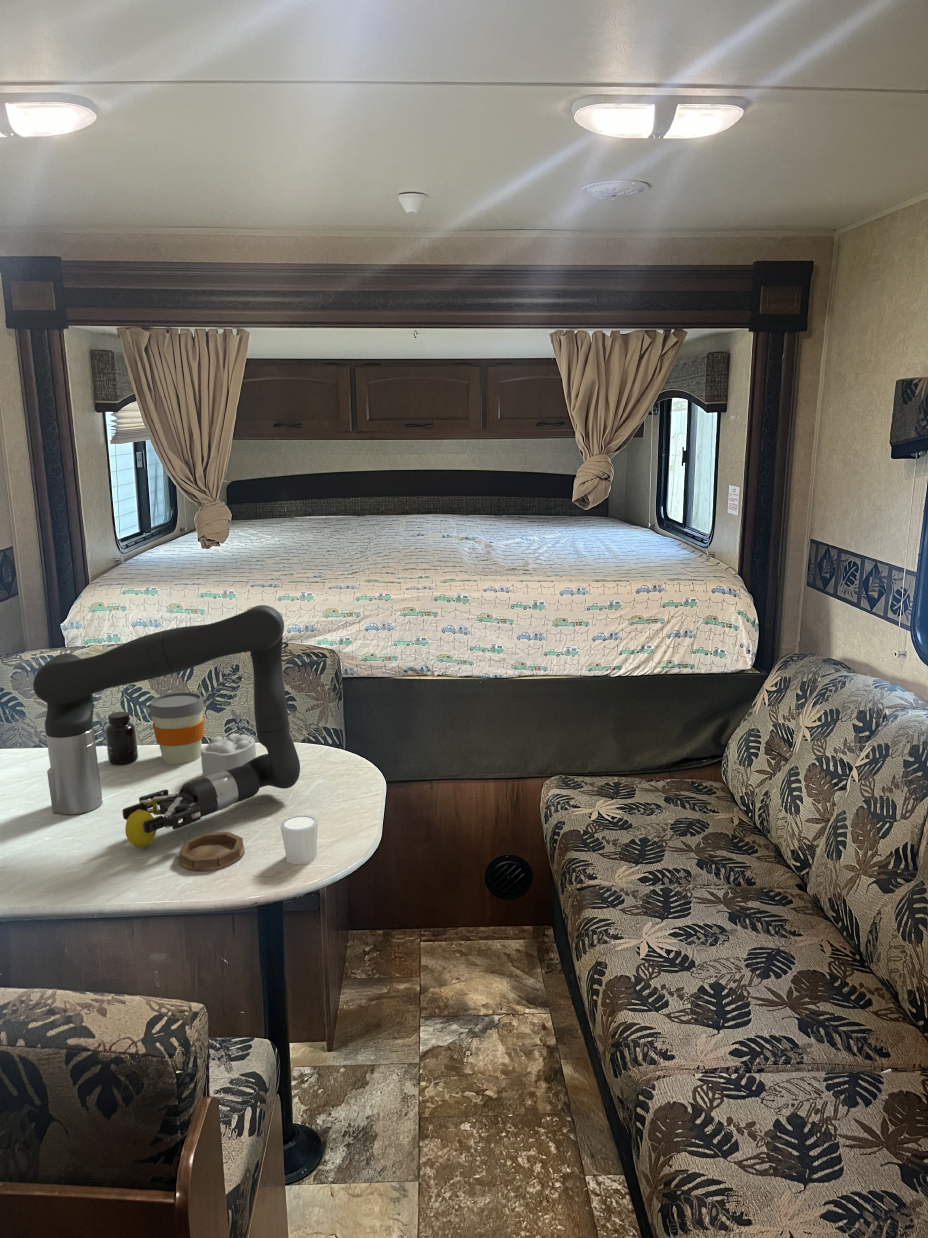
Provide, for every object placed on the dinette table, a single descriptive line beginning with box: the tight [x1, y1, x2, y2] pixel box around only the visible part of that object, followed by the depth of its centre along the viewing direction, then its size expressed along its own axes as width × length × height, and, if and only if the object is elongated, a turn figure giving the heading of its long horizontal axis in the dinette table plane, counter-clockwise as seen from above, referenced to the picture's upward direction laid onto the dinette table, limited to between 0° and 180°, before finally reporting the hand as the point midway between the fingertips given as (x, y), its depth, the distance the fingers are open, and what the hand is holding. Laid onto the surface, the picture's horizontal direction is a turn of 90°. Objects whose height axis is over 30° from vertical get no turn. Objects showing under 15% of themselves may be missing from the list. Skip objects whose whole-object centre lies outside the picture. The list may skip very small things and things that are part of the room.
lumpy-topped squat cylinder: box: [200, 733, 257, 777], centre depth 202 cm, size 10×13×9 cm
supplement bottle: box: [104, 711, 139, 766], centre depth 211 cm, size 7×7×12 cm
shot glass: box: [280, 814, 319, 865], centre depth 161 cm, size 7×7×7 cm
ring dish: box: [178, 831, 246, 872], centre depth 163 cm, size 12×12×2 cm
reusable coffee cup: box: [149, 691, 205, 765], centre depth 212 cm, size 13×12×15 cm
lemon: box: [124, 809, 157, 849], centre depth 166 cm, size 6×6×8 cm
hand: (133, 821), depth 165 cm, fingers open, 8 cm apart
